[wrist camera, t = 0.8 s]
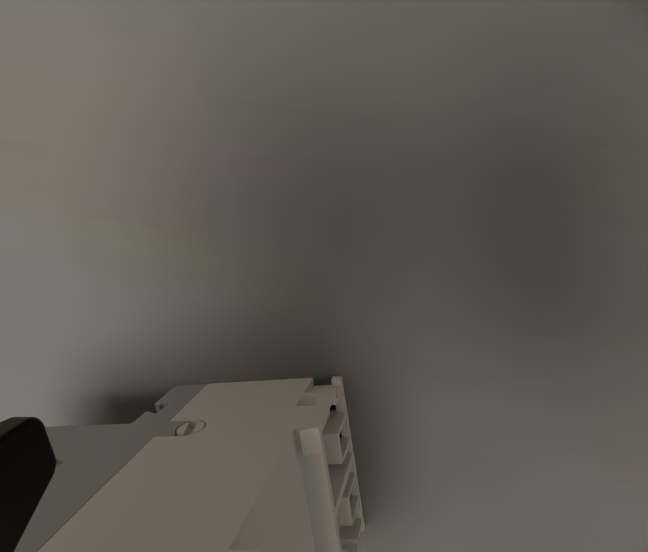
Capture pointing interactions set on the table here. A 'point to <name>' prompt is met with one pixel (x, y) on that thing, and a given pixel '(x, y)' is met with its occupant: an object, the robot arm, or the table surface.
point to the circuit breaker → (208, 475)
